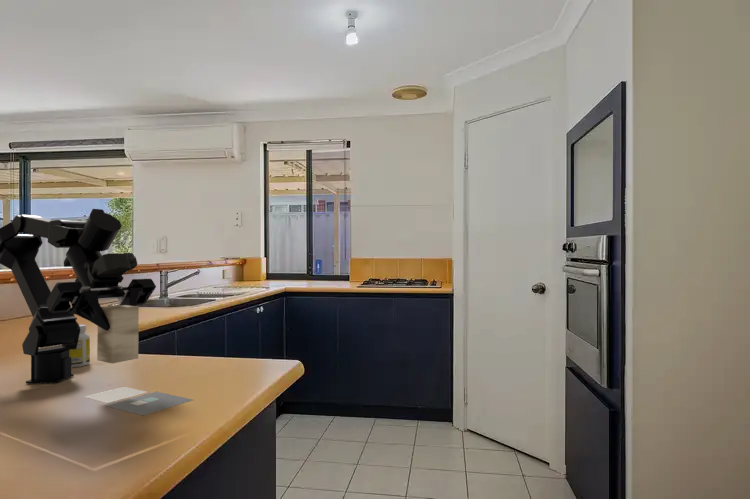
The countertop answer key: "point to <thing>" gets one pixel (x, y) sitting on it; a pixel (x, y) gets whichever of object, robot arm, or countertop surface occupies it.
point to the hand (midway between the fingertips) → (122, 327)
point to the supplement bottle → (81, 349)
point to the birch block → (119, 334)
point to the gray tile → (149, 403)
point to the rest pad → (115, 394)
